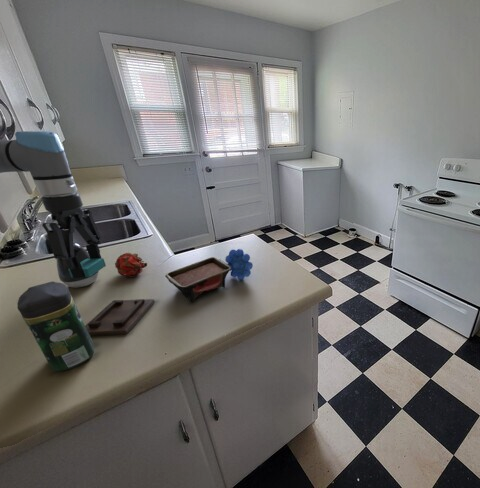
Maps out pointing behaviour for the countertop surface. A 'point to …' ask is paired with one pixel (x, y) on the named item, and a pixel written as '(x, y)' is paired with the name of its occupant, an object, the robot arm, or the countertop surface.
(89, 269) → the pad
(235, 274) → the blue lumpy round piece
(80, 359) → the coffee jar
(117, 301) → the back plate
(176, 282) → the rectangular planter
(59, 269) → the black rounded piece
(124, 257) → the dragon fruit
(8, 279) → the countertop surface
